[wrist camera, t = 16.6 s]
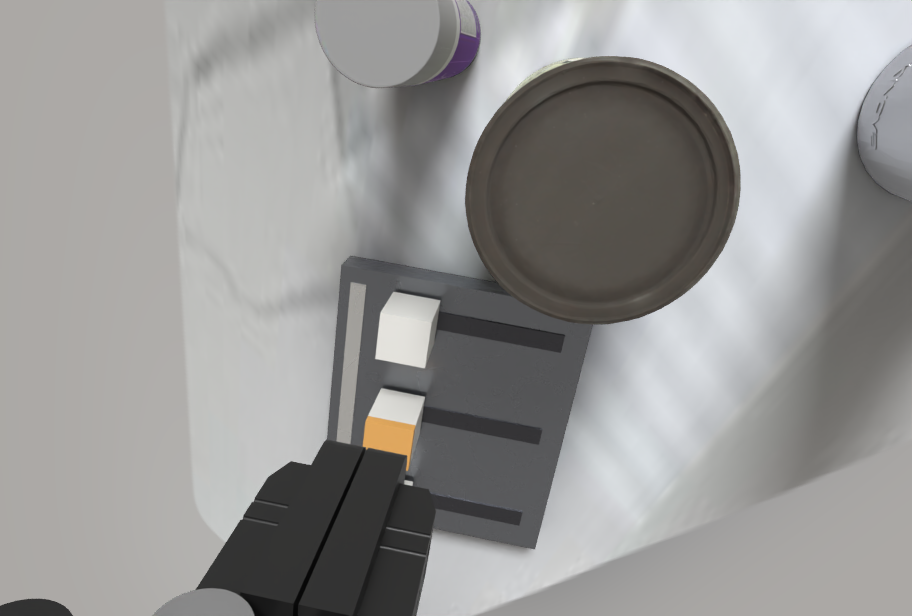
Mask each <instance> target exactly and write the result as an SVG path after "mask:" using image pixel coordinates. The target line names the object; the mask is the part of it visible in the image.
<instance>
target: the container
mask: <svg viewBox="0 0 912 616" xmlns="http://www.w3.org/2000/svg"><path fill="white" fill-rule="evenodd" d="M315 27H316V32H317V36H318V39H319V42H320V45H321V47H322V49H323V51H324V53H325V55H326V57H327V58H328V60H329V61H330V62H331V64H332V65H333V66H334V67H335V68H336V69H337V70H338V71H339V72H340V73H341V74H342V75H344V76H345V77H347V78H348V79H350V80H351V81H353V82H355V83H357V84H360V85H363V86H367V87H372V88H390V87H402V86H415V85H420V84H424V83H428V82H432V81H437V80H441V79H445V78H449V77H452V76H455V75H457V74H459V73H460V72H462V71H463V70H465V69H466V68H467V67H468V66H469V65H470V63H471V62H472V61H473V59H474V57H475V56H476V54H477V51H478V48H479V44H480V38H481V29H480V23H479V19H478V16H477V14H476V12H475V10H474V8H473V7H472V5H471V4H470V3H469V2H468V1H467V0H316V3H315Z"/></svg>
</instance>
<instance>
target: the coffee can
mask: <svg viewBox="0 0 912 616" xmlns="http://www.w3.org/2000/svg"><path fill="white" fill-rule="evenodd" d="M740 189H741V187H740V165H739V159H738V154H737V150H736V147H735V144H734V141H733V138H732V135H731V132H730V130H729V128H728V127H727V125H726V123H725V121H724V119H723V117H722V116H721V114H720V113H719V111H718V110H717V108H716V107H715V105H714V104H713V103H712V102H711V101H710V99H709V98H708V97H707V96H706V95H705V94H704V93H703V92H702V91H701V90H700V89H698V88H697V87H696V86H695V85H694V84H693V83H691V82H690V81H689V80H687V79H686V78H684V77H682V76H681V75H679V74H677V73H676V72H674V71H672V70H670V69H668V68H666V67H664V66H662V65H659V64H656V63H653V62H650V61H647V60H643V59H639V58H631V57H618V56H601V57H591V58H575V59H567V60H563V61H559V62H555V63H553V64H550V65H548V66H545V67H543V68H541V69H540V70H538V71H536V72H535V73H533V74H532V75H530V76H529V77H528V78H526V79H525V80H524V81H523V82H522V83H520V84H519V86H518V87H517V88H516V89H515V90H514V91H513V92H512V93H511V95H510V96H509V97H508V99H507V100H506V102H505V103H504V104H503V105H502V106H501V107H500V108H499V109H498V110H497V112H496V113H495V114H494V116H493V117H492V119H491V120H490V121H489V123H488V124H487V126H486V127H485V129H484V131H483V133H482V135H481V136H480V138H479V141H478V143H477V145H476V147H475V150H474V153H473V156H472V159H471V163H470V167H469V171H468V176H467V183H466V196H465V206H466V216H467V221H468V227H469V231H470V234H471V237H472V240H473V243H474V245H475V247H476V250H477V252H478V254H479V256H480V258H481V260H482V261H483V263H484V265H485V267H486V268H487V269H488V271H489V272H490V274H491V275H492V276H493V278H494V279H495V280H496V281H497V282H498V283H499V285H500V286H501V287H502V288H503V289H505V290H506V291H507V292H508V293H509V294H510V295H511V296H513V297H514V298H515V299H517V300H518V301H519V302H521V303H523V304H524V305H526V306H528V307H529V308H531V309H533V310H536V311H538V312H540V313H542V314H545V315H547V316H550V317H552V318H556V319H560V320H563V321H567V322H572V323H579V324H611V323H617V322H623V321H628V320H632V319H636V318H640V317H642V316H645V315H647V314H650V313H652V312H655V311H657V310H659V309H661V308H663V307H664V306H666V305H668V304H670V303H671V302H673V301H674V300H676V299H678V298H679V297H681V296H682V295H683V294H685V293H686V292H687V291H688V290H690V289H691V288H692V287H693V286H694V285H695V284H696V283H697V282H698V281H699V280H700V279H701V278H702V277H703V276H704V275H705V274H706V273H707V272H708V270H709V269H710V268H711V266H712V265H713V264H714V262H715V261H716V259H717V258H718V256H719V255H720V253H721V252H722V250H723V248H724V246H725V244H726V242H727V240H728V238H729V236H730V233H731V231H732V228H733V225H734V223H735V219H736V215H737V211H738V206H739V198H740Z"/></svg>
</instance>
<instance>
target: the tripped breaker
mask: <svg viewBox="0 0 912 616" xmlns="http://www.w3.org/2000/svg"><path fill="white" fill-rule="evenodd" d="M424 402H425V397H424V396H419V395H414V394H408V393H403V392H398V391H393V390H388V389H383V388H381V390H380V392H379V394H378V396H377V398H376V400H375V402H374V404H373V406H372V409H371V411H370V413H369V415H368V417H367V419H366V421H365V430H364V439H363V447H366V450H367V449H368V448H373V449H378V450H383V451H388V452H393V453H398V454H403V455H407V467H406V471H408V469H409V466H410V463H411V460H412V457H413V454H414V450H415V447H416V444H417V441H418V438H419V435H420V428H421V421H422V415H423V408H424Z"/></svg>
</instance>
